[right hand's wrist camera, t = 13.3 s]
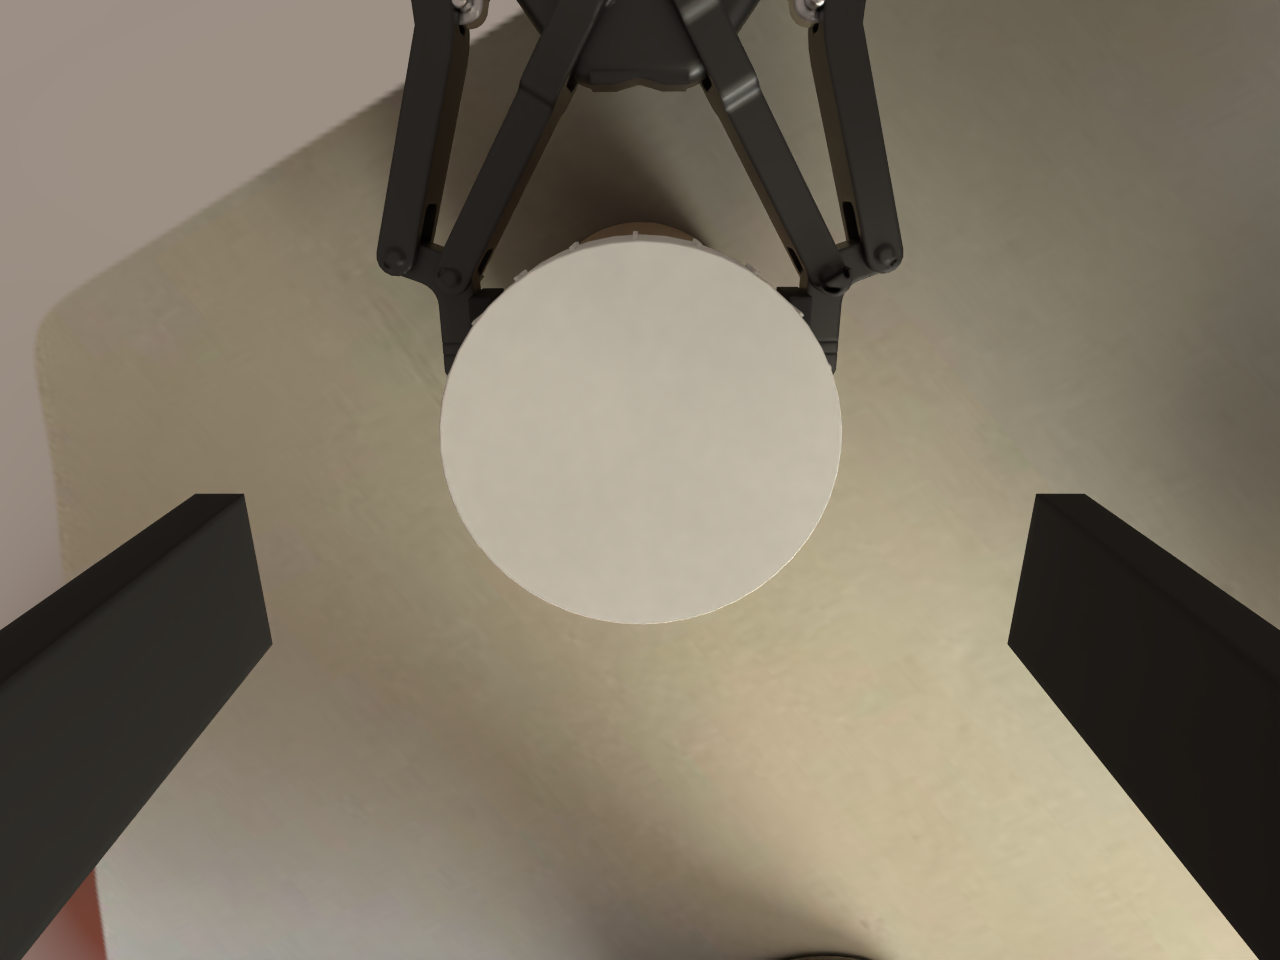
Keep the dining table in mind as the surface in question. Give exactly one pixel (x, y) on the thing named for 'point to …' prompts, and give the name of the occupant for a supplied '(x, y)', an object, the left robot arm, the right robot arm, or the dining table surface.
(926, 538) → the dining table surface
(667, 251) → the lid
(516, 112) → the left robot arm
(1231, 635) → the right robot arm
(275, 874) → the dining table surface
